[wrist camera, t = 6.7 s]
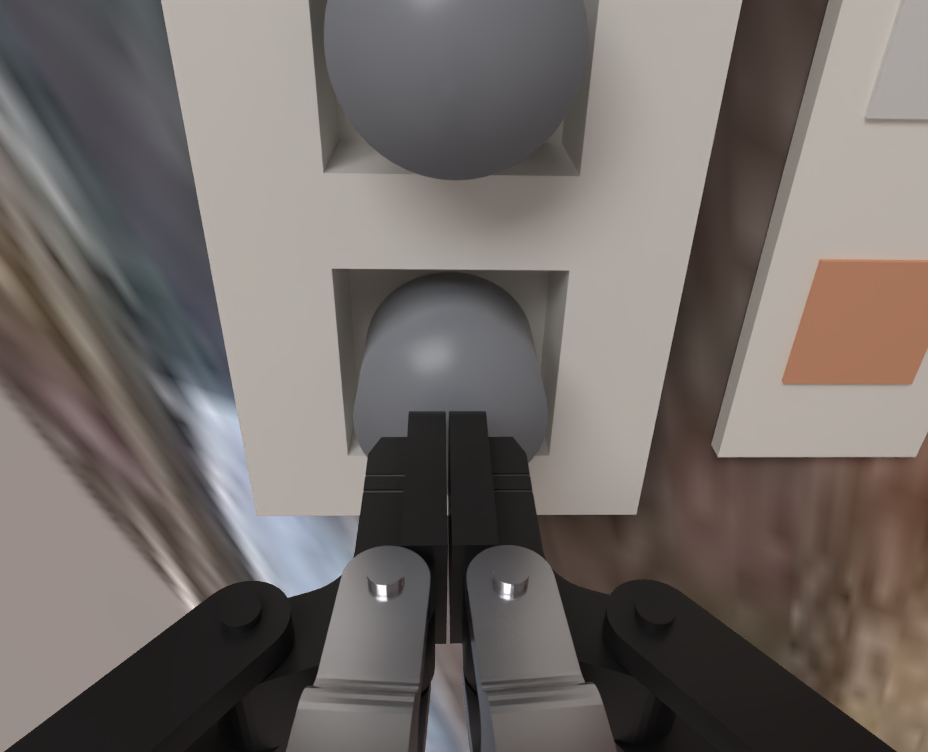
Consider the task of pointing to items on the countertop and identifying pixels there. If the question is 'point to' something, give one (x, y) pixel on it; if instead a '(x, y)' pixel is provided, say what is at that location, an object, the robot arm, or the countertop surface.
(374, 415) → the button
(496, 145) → the button middle
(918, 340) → the pattern card
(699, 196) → the button panel
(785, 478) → the countertop surface
